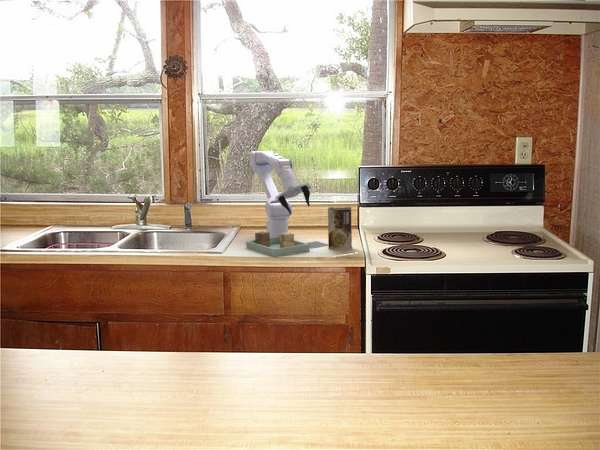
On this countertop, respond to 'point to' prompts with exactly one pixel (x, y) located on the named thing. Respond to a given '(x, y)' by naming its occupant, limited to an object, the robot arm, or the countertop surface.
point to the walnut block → (262, 238)
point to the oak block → (286, 240)
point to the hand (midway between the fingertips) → (299, 208)
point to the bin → (278, 247)
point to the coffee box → (339, 228)
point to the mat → (316, 244)
